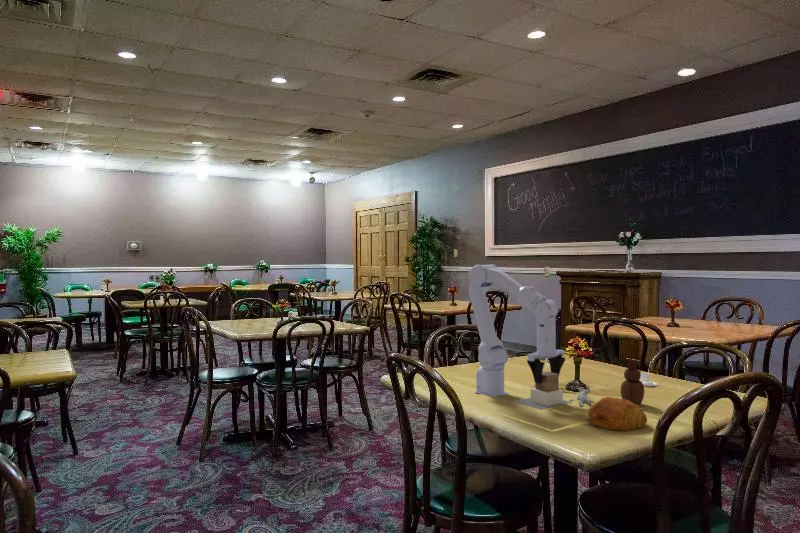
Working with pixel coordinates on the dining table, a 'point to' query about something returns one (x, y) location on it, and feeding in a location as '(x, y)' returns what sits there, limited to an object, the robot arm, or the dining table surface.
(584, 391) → the soldier figure
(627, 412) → the croissant
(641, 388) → the wooden figurine
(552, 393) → the cream block
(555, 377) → the walnut cube
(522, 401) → the slate board
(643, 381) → the teacup and saucer
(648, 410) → the dining table surface
